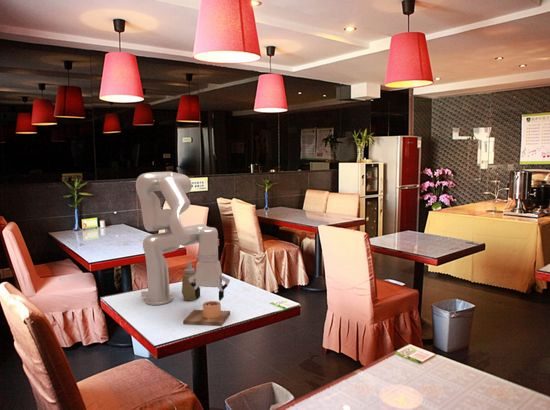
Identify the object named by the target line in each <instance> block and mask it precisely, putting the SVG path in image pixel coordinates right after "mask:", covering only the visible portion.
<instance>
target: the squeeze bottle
mask: <svg viewBox="0 0 550 410" xmlns="http://www.w3.org/2000/svg"><path fill="white" fill-rule="evenodd" d="M183 271H184V273H183V274H182V281H181V282H182V283H181V284H182V285H181V293H182V295H183V299H184V300H185V301H195V300H197V299H196V296H195V289H194V287H193V286H192V285H191V283H190V281H189V278H190V277H192V276H194V275H196V268H194V267H192V263H191V261H190V260H189V261H187V266H186V268H184V269H183ZM193 280H194V282H195V279H193ZM195 283H196V282H195Z"/></svg>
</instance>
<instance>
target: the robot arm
mask: <svg viewBox="0 0 550 410" xmlns="http://www.w3.org/2000/svg"><path fill="white" fill-rule="evenodd" d="M192 187H193V183H192V180H191V179H190V177H189V176H187V175H186V174H183V173H178V172H173V171H153V172H152V171H151V172H145V173H141V174H139V176H137V178H136V181H135V189H136V193H137V196H138V199H139V202H140V207H141V216H142V222H143V226H144V229H145V230H146V231H147V232H157V231H158V232H159V231H162V230H163V231H164V232H159V233H153V234H149V235H147V236H146V237H145V238H144V239H143V241H142V249H143V252H144V256H145V265H146V274H147V275H146V276H147V277H146V278H147V291H146V290H145V291H144V290H142V291H141V292H140V294H141V295H140V296H141V297H142V298H143V297H145V300H144V302H145V303H146V304H147V305H151V306H160V305H166V304H169V303H171V302H172V301H173V300H174V296H173V294H170V281H169V280H170V278H169V275H170V274H169V263H168V261H167V259H166V257H165V256H164V254H166V253H171V252H175V251H177V250H179V249H180V247H181V246H190V245H194V244H198V254H196V255H195V258H196V259H198V261H197V262H196V268H195V273H196V275H194V276H192V277H190V278H189V281H190V283H191V285H192V286H193V287H194V289H195V296H196V299H195V300H199V298H201V287H204V288H217V289H218V290H219V291H218V302H220V301H222V300H223V299H224V298H225V297H224V296H225V295H224V294H225V293H224V292H225V289H226V288H227V287H228V285H229V283H230V282H231V279H230V278H227V277H226V276H224V275H223V272H222V267H221V262H220V260H219V232H218V230H217V228H216V227H213V226H212V227H211V226H207V225H206V224H203V223H200V224H193V225H187V226H184V224H183V223H182V221H181V218H180V215H181V214H183V213H184V212H186V211H187V210H188V209H189V208H190V206H191V201H190V199H189V197H188V195H187V194H188V193H190V192H191V190H192ZM155 192H161V195H162V196H163V197H164V199H165V202H167V204H168V207H169V208H164V209H163V208H162V207H161V200H160V198H159V197H158V195H157V194H156V193H155ZM193 279H195V282H196V283H195V282H194V280H193ZM223 282H224V285H223V284H222V283H223Z"/></svg>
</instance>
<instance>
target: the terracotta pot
mask: <svg viewBox="0 0 550 410" xmlns="http://www.w3.org/2000/svg"><path fill="white" fill-rule="evenodd" d="M210 304H215V305H213V306H211V305H210ZM202 310H203V317H205V318H208V319H214V318H217V317H219V316H220V315H221V311H222V310H221V302H220V301H219V300H218V301H217V300H216V301H215V300H210V301H205V302H203V304H202Z"/></svg>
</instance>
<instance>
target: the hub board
mask: <svg viewBox="0 0 550 410" xmlns="http://www.w3.org/2000/svg"><path fill="white" fill-rule="evenodd" d="M210 305H211V306H213V305H215V304H210ZM230 316H231V311H230V310H221V315H220V316H219V317H217V318H214V319H208V318H205V317H203V309H193V310H192V311H191V312H189V314H188V315H187V316H186V317H185V318H184V319H183V320H182V322H183V323H182V324H183V325H195V326H216V327H222V326H223V325H224V323H225V322H226V321H227V320H228V318H229V317H230Z"/></svg>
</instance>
